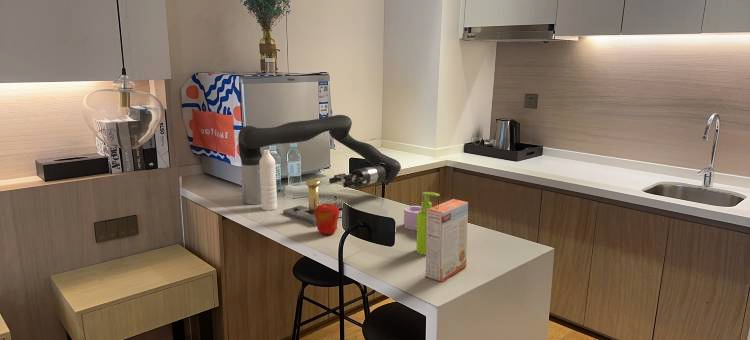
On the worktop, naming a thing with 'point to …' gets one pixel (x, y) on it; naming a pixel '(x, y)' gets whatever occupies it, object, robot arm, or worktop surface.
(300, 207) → the inner chain end
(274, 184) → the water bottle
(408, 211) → the purple block with hole
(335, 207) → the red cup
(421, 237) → the soap dispenser
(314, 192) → the pin
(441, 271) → the cracker box
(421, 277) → the worktop surface
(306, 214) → the outer chain end
